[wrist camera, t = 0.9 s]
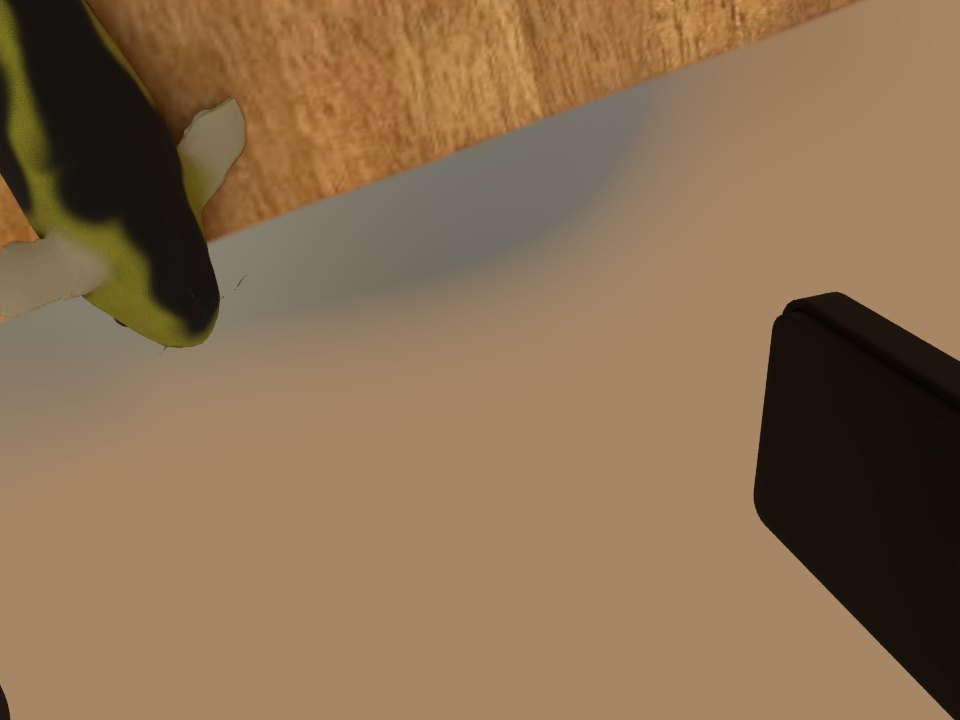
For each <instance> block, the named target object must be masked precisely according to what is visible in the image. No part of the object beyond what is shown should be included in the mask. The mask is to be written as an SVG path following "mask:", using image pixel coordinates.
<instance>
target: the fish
mask: <svg viewBox="0 0 960 720" xmlns="http://www.w3.org/2000/svg"><path fill="white" fill-rule="evenodd" d="M245 128H246V124H245V120H244V117H243V115H242V112H241V110H240V107H239V105H238V103H237V102H236V100H235V98H234V97H231V96H230V97H229V98H227V99H226V100H225V101H224V102H223V103H221V104H220V105H218V106H216V107H215V108H213V109H212V110H208V109H204V110H202V111H201V112H199V113H198V114H196V115H195V116H194V118H193V120H192V122H191V125H190V126H189V127H188V128H187V129H186V130H185V131H184V135H183V138H182V140H181V141H180V142H179V143H178V144H177V145H175V141H174V139H173V137H172V135H171V133H170V131H169V129H168V127H167V125H166V123H165V121H164V119H163V117H162V115H161V113H160V111H159V110H158V108H157V106H156V104H155V102H154V100H153V99H152V97H151V95H150V94H149V92H148V91H147V89H146V88H145V86H144V85H143V83H142V82H141V80H140V78H139V77H138V76H137V74H136V73H135V71H134V70H133V68H132V67H131V65H130V64H129V63H128V61H127V60H126V58H125V57H124V55H123V54H122V52H121V51H120V50H119V48H118V47H117V45H116V44H115V42H114V41H113V39H112V38H111V36H110V35H109V33H108V32H107V30H106V29H105V27H104V26H103V24H102V23H101V21H100V20H99V18H98V17H97V15H96V14H95V12H94V11H93V9H92V7H91V6H90V4H89V3H88V2H87V1H86V0H0V173H1V175H2V177H3V178H4V180H5V182H6V183H7V185H8V187H9V188H10V190H11V192H12V193H13V195H14V197H15V199H16V200H17V202H18V204H19V206H20V207H21V209H22V211H23V213H24V215H25V216H26V218H27V220H28V221H29V223H30V224H31V226H32V227H33V229H34V231H35V232H36V234H37V235H38V237H39V238H40V239H36V240H35V241H34V242H19V241H11V242H9V243H8V244H6V245H4V246H3V247H2V248H1V249H0V251H1V254H0V315H1V316H4V317H18V316H20V315H21V314H23V313H26V312H28V311H31V310H34V309H37V308H39V307H41V306H44V305H46V304H48V303H51V302H53V301H56V300H59V299H60V300H68V299H71V298H74V297H78V296H83V297H84V298H85V299H86V300H87V301H89V302H90V303H91V304H93V305H94V306H96V307H97V308H99V309H101V310H102V311H104V312H106V313H107V314H109V315H111V316H112V317H114V319H115V320H116V322H117V323H119V324H120V325H121V326H125V327H129V328H131V329H132V330H134V331H136V332H137V333H139V334H141V335H143V336H145V337H147V338H149V339H151V340H153V341H155V342H157V343H159V344H161V345H164V346H165V348H166V347H178V348H182V347H191V346H196V345H199V344H202V343H203V342H204V341H205V340H206V339H207V338H208V337H209V335H210V334H211V332H212V330H213V328H214V325H215V323H216V320H217V317H218V312H219V301H220V295H219V290H218V285H217V281H216V277H215V273H214V270H213V267H212V264H211V261H210V257H209V253H208V248H207V242H206V236H205V230H204V227H203V224H202V221H201V212H202V209H203V208H204V206H205V204H206V203H207V202H208V200H209V199H210V198H211V197H212V196H213V194H214V193H215V192H216V190H217V189H218V188H219V186H220V185H221V184H222V183H223V182H224V180H225V174H226V172H227V170H228V169H229V168H230V166H231V165H232V163H233V162H234V161H235V159H236V158H237V157H239V156H240V154H241V152H242V150H243V148H244V146H245V143H246V137H245V135H246V130H245ZM165 348H164V349H165Z"/></svg>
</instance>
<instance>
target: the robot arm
mask: <svg viewBox="0 0 960 720" xmlns="http://www.w3.org/2000/svg"><path fill="white" fill-rule="evenodd" d="M754 504H755V508H756V511H757V513H758V515H759V517H760V519H761V521H762V522H763V523H764V524H765V526H766V527H767V528H768V529H769V530H770V531H771V532H772V533H773V534H774V535H775V536H776V537H777V538H778V539H779V540H780V541H781V542H782V543H783V544H784V545H785V546H786V547H787V548H788V549H789V550H790V551H791V552H792V553H793V554H794V555H795V556H796V558H797V559H798V560H800V562H802V564H803V565H804V566H805V567H806V568H807V569H808V570H809V571H810V572H811V573H812V574H813V575H814V576H815V577H816V578H817V579H818V580H819V581H820V582H821V583H822V584H823V585H824V586H825V587H826V588H827V589H828V590H829V591H830V592H831V594H833V596H834V597H835V598H836V599H837V600H838V601H839V602H840V603H841V604H842V605H843V606H844V607H845V608H846V609H847V610H848V611H849V612H850V613H851V614H852V615H853V616H854V617H855V618H856V619H857V620H858V621H859V622H860V623H861V624H862V625H863V626H864V627H865V628H866V629H867V630H868V632H869V633H870V634H871V635H873V637H874V638H875V639H876V640H877V641H878V642H879V643H880V644H881V645H882V646H883V647H884V648H885V649H886V650H887V651H888V652H889V653H890V654H891V655H892V656H893V657H894V658H895V659H896V660H897V661H898V662H899V663H900V664H901V665H902V667H904V668H905V670H906V671H907V672H908V673H909V674H910V675H911V676H912V677H913V678H914V679H915V680H916V681H917V682H918V683H919V684H920V685H921V686H922V687H923V688H924V689H925V690H926V691H927V692H928V693H929V694H930V695H931V696H932V697H933V698H934V699H935V700H936V701H937V702H938V703H939V704H940V706H942V708H943V709H944V710H945V711H946V712H947V713H948V714H949V715H950V716H951V717H952V718H953V719H954V720H960V361H958V360H956V359H954V358H953V357H951V356H949V355H948V354H946V353H944V352H943V351H941V350H939V349H937V348H936V347H934V346H932V345H931V344H929V343H927V342H925V341H924V340H922V339H920V338H919V337H917V336H915V335H913V334H912V333H910V332H908V331H906V330H905V329H903V328H901V327H900V326H898V325H896V324H894V323H893V322H891V321H889V320H888V319H886V318H884V317H882V316H881V315H879V314H877V313H876V312H874V311H872V310H870V309H869V308H867V307H865V306H864V305H862V304H860V303H858V302H857V301H855V300H853V299H851V298H850V297H848V296H846V295H844V294H842V293H839V292H831V293H825V294H821V295H816V296H812V297H807V298H802V299H797V300H793V301H791V302H790V303H788V304H787V306H786V307H785V309H784V311H783V314H782V315H780V316H779V317H777V318H776V320H775V322H774V325H773V329H772V337H771V345H770V355H769V363H768V371H767V380H766V389H765V398H764V406H763V416H762V424H761V433H760V442H759V450H758V459H757V468H756V476H755V485H754ZM0 720H10V714H9V708H8V703H7V700H6V698H5V694H4V692H3V690H2V688H1V686H0Z"/></svg>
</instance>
